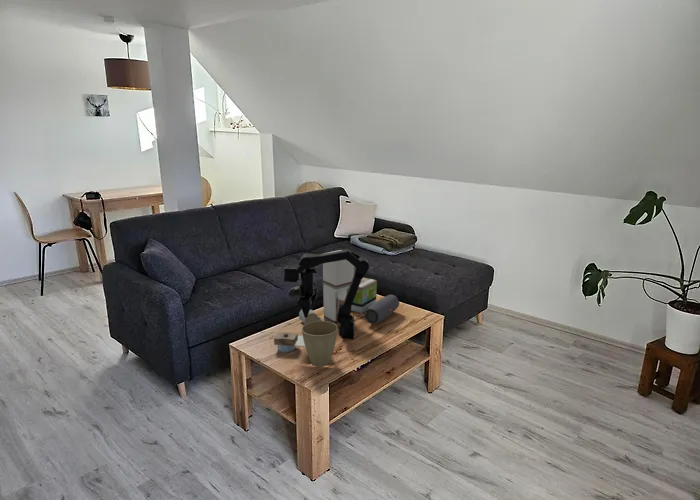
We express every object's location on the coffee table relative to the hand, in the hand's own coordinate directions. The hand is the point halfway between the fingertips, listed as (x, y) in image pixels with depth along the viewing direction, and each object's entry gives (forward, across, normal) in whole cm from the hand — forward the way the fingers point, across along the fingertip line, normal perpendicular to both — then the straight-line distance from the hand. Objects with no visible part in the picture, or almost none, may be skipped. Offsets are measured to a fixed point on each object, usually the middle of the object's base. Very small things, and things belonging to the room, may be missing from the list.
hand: (308, 313), depth 218 cm
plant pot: (+12, +23, +10) cm, 28 cm away
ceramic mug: (+12, -16, -2) cm, 20 cm away
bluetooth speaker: (+12, -26, +33) cm, 44 cm away
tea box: (+12, -40, +21) cm, 47 cm away
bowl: (+12, +14, -7) cm, 20 cm away
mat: (+12, +6, -4) cm, 14 cm away
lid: (+8, +14, -7) cm, 17 cm away
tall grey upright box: (+12, -22, +11) cm, 27 cm away
